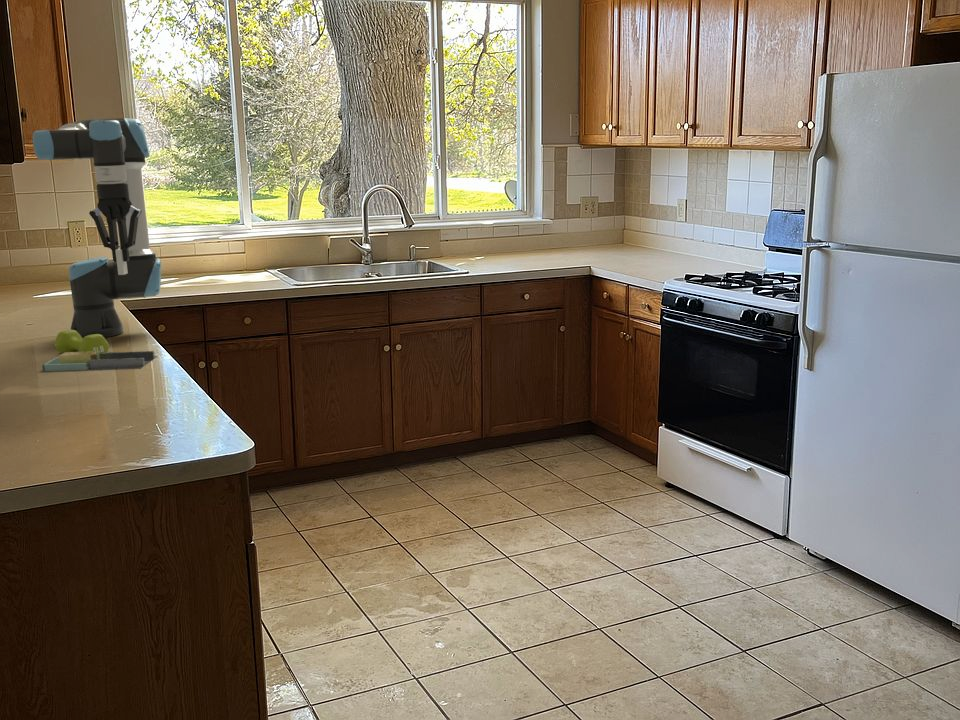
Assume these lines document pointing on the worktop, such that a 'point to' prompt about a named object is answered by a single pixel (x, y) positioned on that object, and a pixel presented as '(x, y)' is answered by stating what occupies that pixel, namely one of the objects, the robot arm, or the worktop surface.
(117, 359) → the slot board
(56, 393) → the worktop surface
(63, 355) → the wooden block
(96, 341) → the dumbbell
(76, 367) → the tray
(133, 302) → the worktop surface
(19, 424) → the worktop surface
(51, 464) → the worktop surface
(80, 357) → the wooden cube
